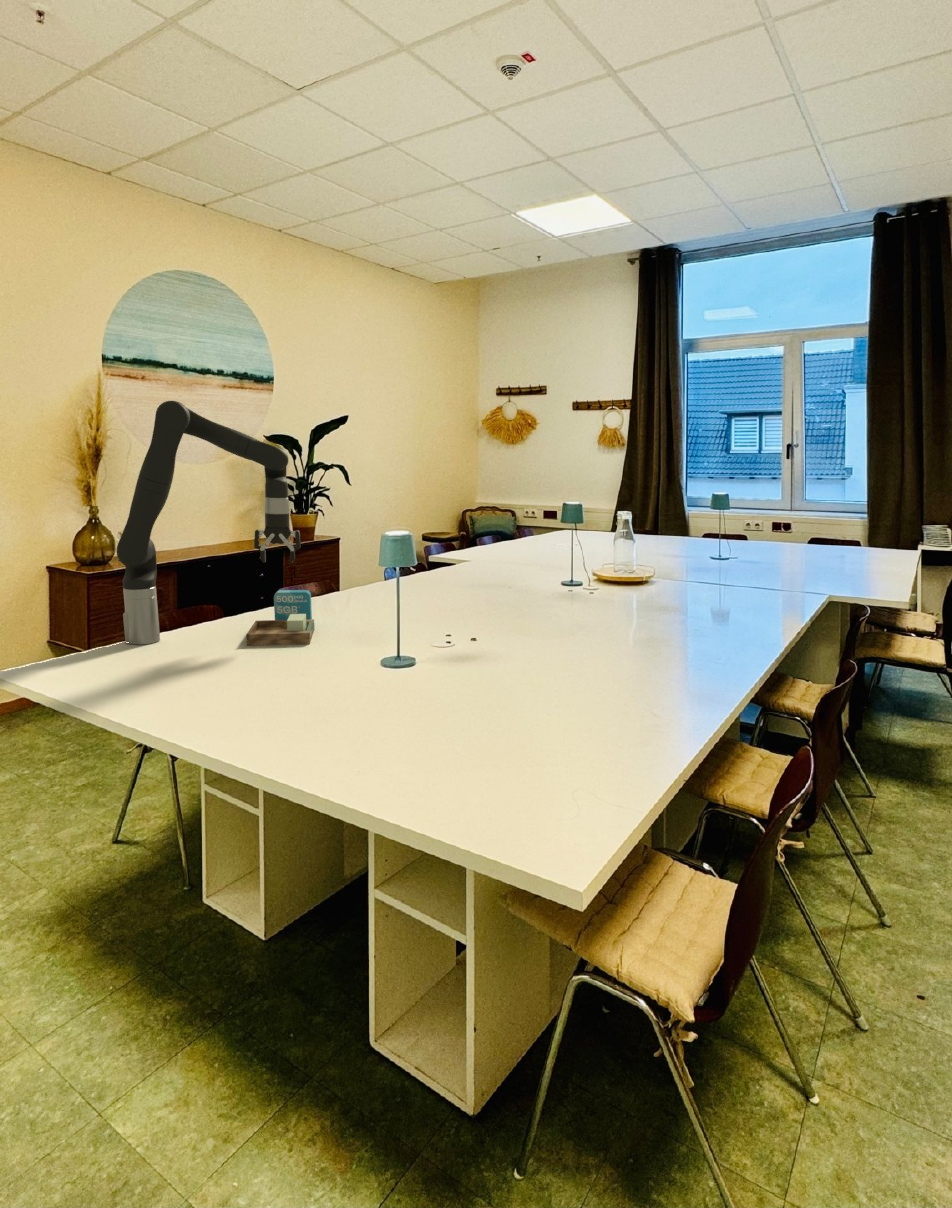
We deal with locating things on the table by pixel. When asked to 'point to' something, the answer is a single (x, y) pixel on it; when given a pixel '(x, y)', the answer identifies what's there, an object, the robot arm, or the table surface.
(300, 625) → the panel block
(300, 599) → the data package
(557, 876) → the table surface
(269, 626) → the shallow wooden tray
